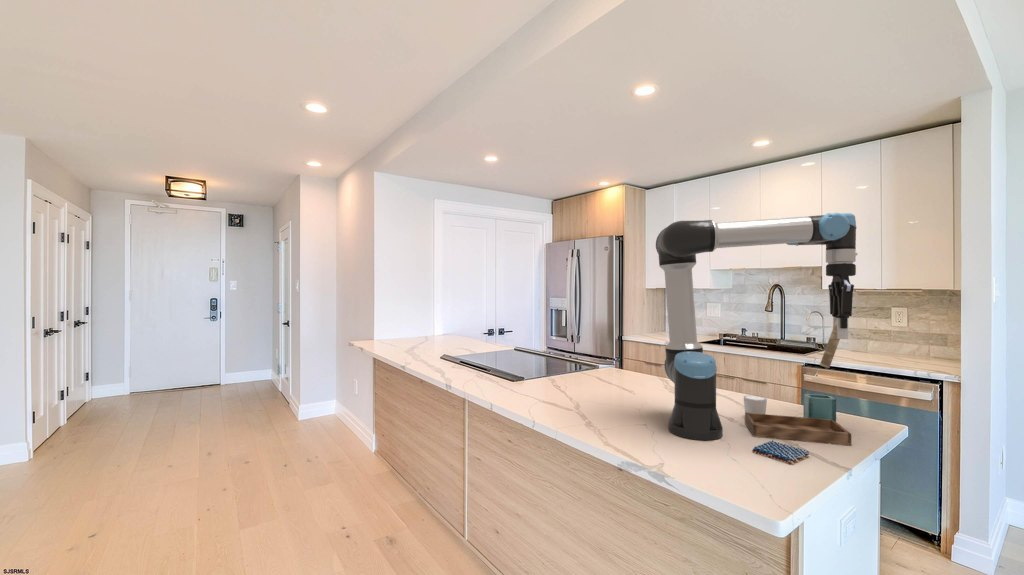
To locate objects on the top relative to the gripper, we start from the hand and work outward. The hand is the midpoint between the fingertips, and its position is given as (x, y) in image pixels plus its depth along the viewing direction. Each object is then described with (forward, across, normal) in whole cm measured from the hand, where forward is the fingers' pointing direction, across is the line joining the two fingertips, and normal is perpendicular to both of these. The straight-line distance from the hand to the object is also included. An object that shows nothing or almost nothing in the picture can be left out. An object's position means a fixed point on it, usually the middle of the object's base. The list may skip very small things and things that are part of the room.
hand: (840, 338), depth 138 cm
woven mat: (+29, -32, +24) cm, 49 cm away
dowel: (+1, 0, +2) cm, 2 cm away
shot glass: (+28, +1, +24) cm, 37 cm away
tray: (+28, -12, +16) cm, 34 cm away
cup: (+28, 0, +6) cm, 28 cm away
